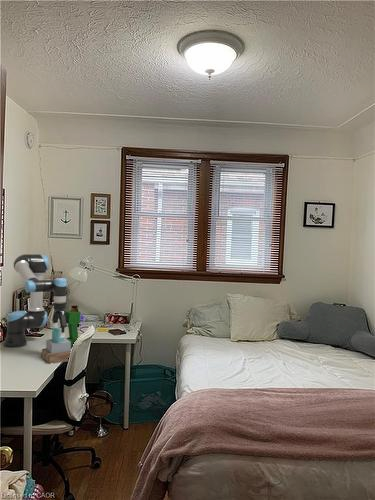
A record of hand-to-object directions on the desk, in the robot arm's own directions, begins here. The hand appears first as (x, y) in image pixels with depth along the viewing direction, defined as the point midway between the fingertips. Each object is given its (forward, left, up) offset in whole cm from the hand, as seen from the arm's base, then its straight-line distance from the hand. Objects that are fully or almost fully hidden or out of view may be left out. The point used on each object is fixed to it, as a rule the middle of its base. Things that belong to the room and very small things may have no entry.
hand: (58, 335), depth 249 cm
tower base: (0, 0, -16) cm, 16 cm away
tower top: (0, 0, -10) cm, 10 cm away
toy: (-19, +18, -15) cm, 30 cm away
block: (-1, 0, -4) cm, 4 cm away
